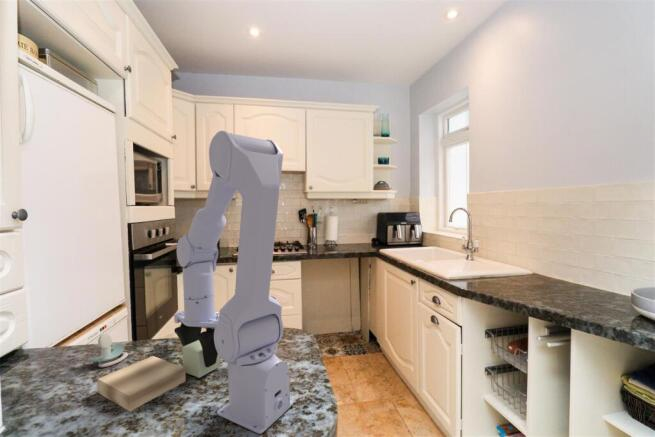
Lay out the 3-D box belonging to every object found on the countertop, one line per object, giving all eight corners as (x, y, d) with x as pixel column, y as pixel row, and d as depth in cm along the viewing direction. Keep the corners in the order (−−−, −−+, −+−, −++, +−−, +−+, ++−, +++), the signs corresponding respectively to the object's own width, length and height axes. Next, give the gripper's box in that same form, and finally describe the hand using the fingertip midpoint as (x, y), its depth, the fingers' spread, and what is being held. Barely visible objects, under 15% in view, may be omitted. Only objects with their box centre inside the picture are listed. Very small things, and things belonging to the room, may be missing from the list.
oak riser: (185, 383, 58) (185, 368, 58) (129, 414, 49) (129, 396, 49) (153, 369, 63) (152, 355, 63) (98, 395, 55) (97, 378, 55)
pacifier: (135, 355, 70) (112, 353, 71) (134, 328, 70) (111, 327, 71) (107, 371, 63) (82, 369, 64) (107, 341, 63) (82, 340, 64)
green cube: (220, 366, 62) (219, 342, 62) (199, 377, 58) (198, 352, 58) (204, 360, 65) (203, 337, 65) (183, 371, 61) (182, 347, 60)
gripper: (239, 294, 61) (241, 361, 61) (194, 287, 68) (196, 347, 69) (210, 304, 55) (213, 377, 55) (163, 295, 62) (166, 360, 62)
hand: (201, 361), depth 61 cm, fingers closed on green cube, 5 cm apart
